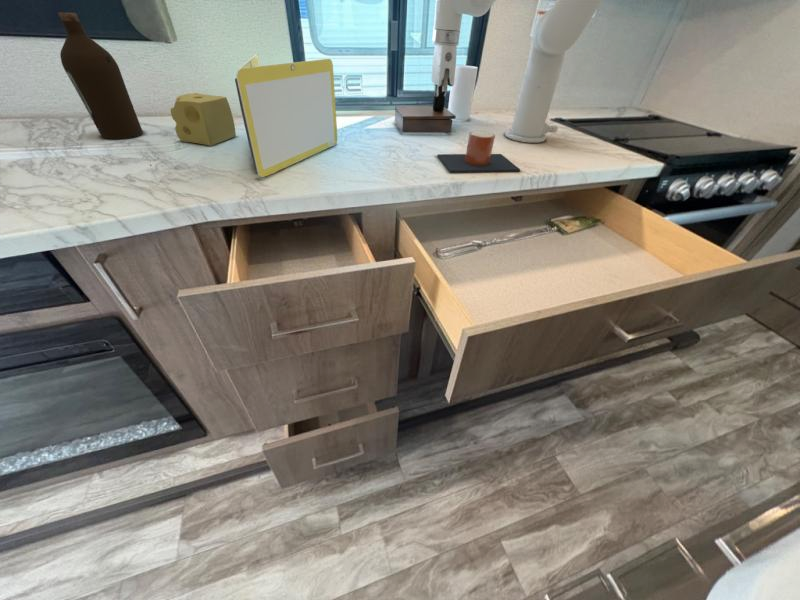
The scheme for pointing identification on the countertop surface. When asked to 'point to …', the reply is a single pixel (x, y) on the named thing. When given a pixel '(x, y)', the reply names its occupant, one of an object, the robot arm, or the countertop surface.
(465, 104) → the white cylinder
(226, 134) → the cheese
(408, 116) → the lid
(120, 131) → the olive oil
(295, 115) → the tablet
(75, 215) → the countertop surface
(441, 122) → the brown wooden box
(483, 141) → the orange cup
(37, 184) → the countertop surface
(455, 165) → the mat
